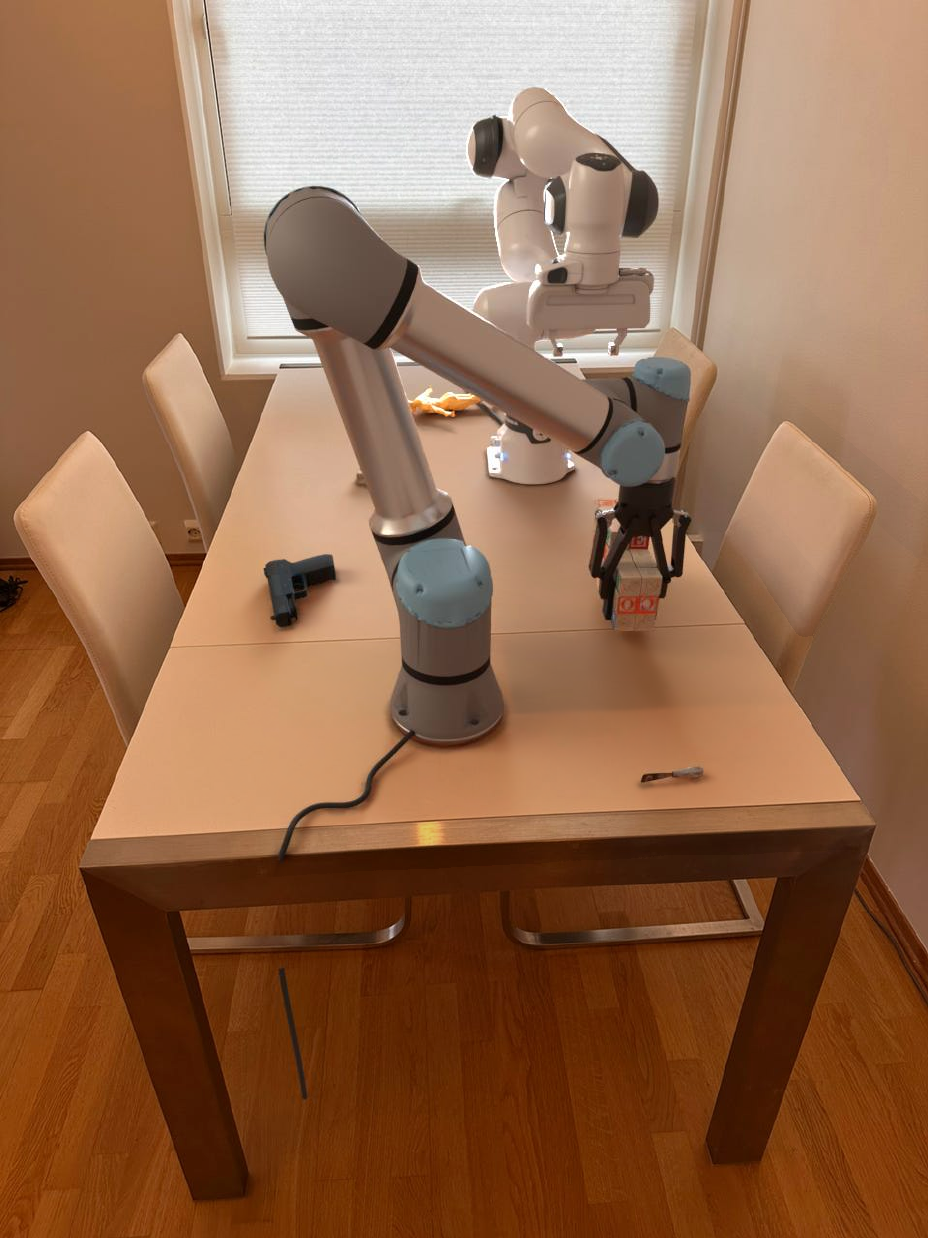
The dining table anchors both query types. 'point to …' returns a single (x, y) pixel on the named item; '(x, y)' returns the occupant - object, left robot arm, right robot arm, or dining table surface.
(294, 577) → the handgun
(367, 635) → the dining table surface
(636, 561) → the stack of blocks
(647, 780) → the putty knife
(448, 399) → the human figure
